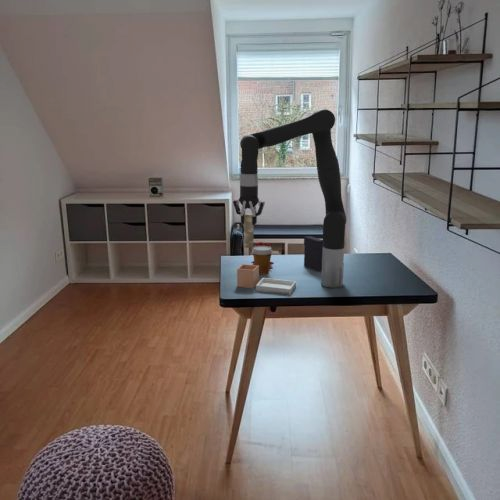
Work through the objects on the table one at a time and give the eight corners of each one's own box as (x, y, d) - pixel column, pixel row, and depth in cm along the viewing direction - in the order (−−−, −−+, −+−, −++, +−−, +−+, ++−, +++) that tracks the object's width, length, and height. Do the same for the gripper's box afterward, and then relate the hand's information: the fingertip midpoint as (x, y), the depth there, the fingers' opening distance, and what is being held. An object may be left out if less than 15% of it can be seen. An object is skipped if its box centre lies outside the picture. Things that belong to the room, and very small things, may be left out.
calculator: (324, 270, 243) (325, 240, 239) (317, 271, 241) (319, 241, 237) (309, 264, 252) (310, 235, 248) (302, 266, 250) (304, 236, 246)
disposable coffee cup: (270, 276, 234) (270, 251, 230) (250, 274, 235) (250, 249, 232) (273, 270, 243) (273, 246, 239) (253, 268, 244) (254, 244, 241)
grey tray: (295, 286, 220) (295, 281, 219) (290, 294, 210) (290, 289, 209) (262, 282, 224) (262, 277, 224) (255, 290, 214) (255, 285, 213)
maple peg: (254, 245, 218) (254, 214, 215) (251, 248, 215) (251, 215, 211) (245, 245, 219) (245, 213, 216) (242, 247, 216) (242, 215, 212)
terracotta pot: (258, 282, 224) (258, 265, 222) (253, 288, 217) (254, 270, 215) (242, 281, 226) (242, 264, 224) (237, 286, 219) (237, 268, 217)
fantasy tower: (274, 262, 255) (275, 239, 252) (273, 269, 244) (273, 245, 241) (251, 261, 256) (251, 238, 253) (249, 268, 245) (249, 244, 242)
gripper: (267, 184, 212) (267, 224, 216) (235, 182, 216) (235, 221, 220) (263, 186, 205) (262, 227, 209) (229, 184, 209) (230, 225, 213)
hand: (248, 224), depth 215 cm, fingers closed on maple peg, 4 cm apart
